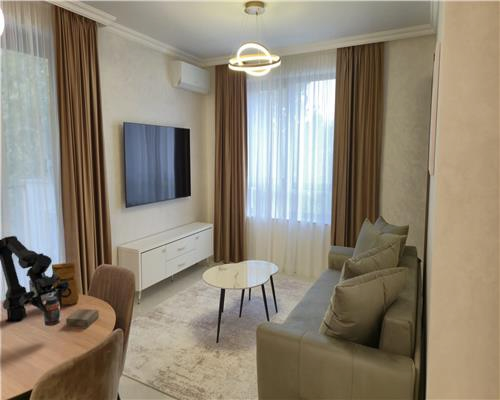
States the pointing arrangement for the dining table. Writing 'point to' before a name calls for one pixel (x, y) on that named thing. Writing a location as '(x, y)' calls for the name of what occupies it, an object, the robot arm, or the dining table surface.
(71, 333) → the dining table surface
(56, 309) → the supplement bottle
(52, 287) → the light bulb box
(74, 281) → the coffee package
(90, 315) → the metal block
